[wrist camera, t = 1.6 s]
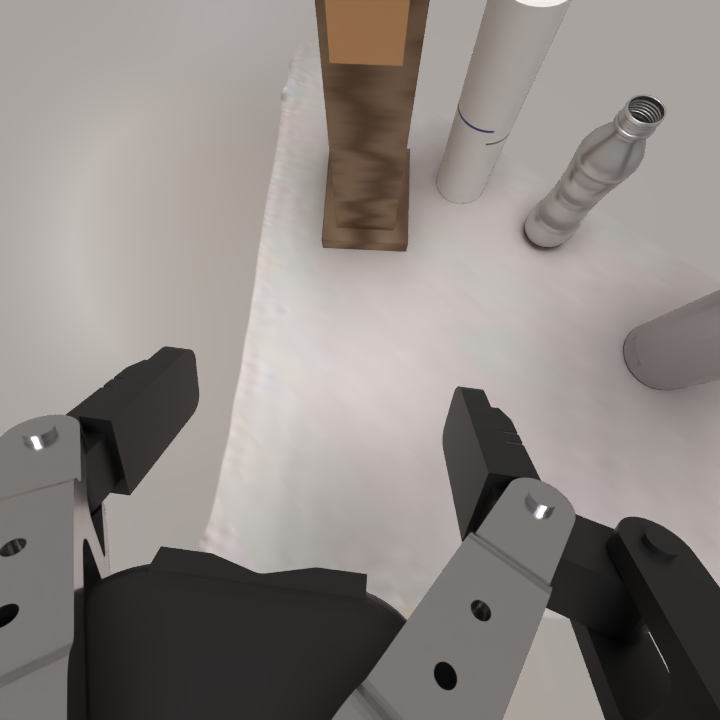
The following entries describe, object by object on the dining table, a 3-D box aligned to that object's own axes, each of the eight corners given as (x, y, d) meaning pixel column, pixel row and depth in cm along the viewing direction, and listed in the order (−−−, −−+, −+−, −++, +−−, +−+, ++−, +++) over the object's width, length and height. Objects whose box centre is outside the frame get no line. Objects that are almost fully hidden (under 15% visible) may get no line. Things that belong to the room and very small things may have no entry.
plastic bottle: (514, 218, 54) (599, 88, 35) (557, 210, 55) (666, 77, 35) (527, 256, 53) (625, 142, 34) (572, 248, 53) (694, 131, 34)
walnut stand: (408, 159, 57) (470, -218, 25) (406, 251, 53) (477, -57, 21) (330, 155, 57) (295, -224, 25) (323, 247, 53) (269, -64, 21)
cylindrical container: (439, 161, 57) (498, -56, 33) (485, 167, 57) (579, -47, 32) (434, 200, 55) (492, 1, 31) (481, 206, 55) (578, 11, 31)
